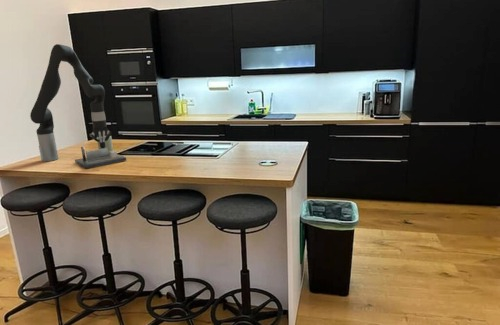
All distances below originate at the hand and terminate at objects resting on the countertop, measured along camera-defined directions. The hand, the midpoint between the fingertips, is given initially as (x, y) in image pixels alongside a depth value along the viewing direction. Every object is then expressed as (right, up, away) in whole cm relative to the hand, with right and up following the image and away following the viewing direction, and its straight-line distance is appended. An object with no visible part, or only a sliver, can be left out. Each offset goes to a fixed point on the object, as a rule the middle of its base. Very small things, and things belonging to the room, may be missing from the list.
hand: (102, 148), depth 212 cm
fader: (+5, -6, +5) cm, 9 cm away
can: (-8, -3, +25) cm, 27 cm away
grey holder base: (-4, -8, +6) cm, 11 cm away
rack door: (-7, -5, +9) cm, 12 cm away
